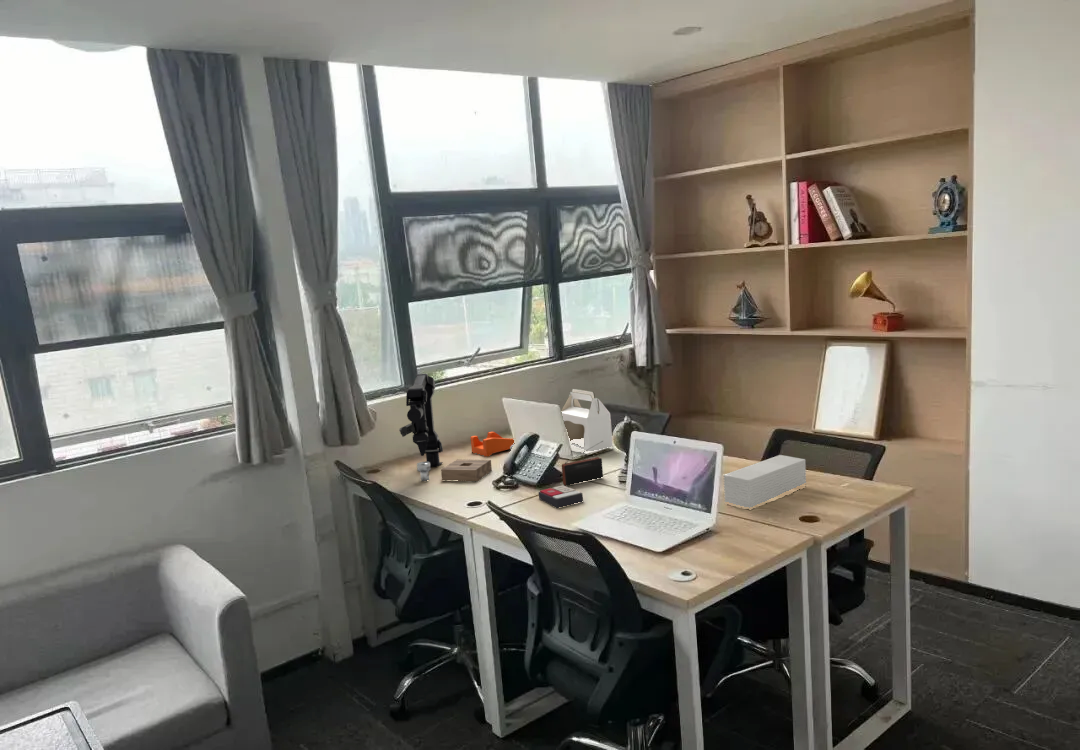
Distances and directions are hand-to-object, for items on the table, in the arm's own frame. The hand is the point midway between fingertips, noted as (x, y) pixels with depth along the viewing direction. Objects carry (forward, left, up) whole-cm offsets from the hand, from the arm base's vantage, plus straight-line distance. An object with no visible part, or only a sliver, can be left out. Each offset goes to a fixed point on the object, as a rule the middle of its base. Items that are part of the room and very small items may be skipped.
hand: (422, 453), depth 327 cm
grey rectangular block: (+8, +140, -12) cm, 141 cm away
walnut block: (-8, +16, -12) cm, 21 cm away
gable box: (-54, +56, -12) cm, 79 cm away
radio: (-4, +70, -12) cm, 71 cm away
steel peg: (0, 0, -12) cm, 12 cm away
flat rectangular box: (+20, +67, -13) cm, 71 cm away
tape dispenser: (-50, +11, -13) cm, 52 cm away
